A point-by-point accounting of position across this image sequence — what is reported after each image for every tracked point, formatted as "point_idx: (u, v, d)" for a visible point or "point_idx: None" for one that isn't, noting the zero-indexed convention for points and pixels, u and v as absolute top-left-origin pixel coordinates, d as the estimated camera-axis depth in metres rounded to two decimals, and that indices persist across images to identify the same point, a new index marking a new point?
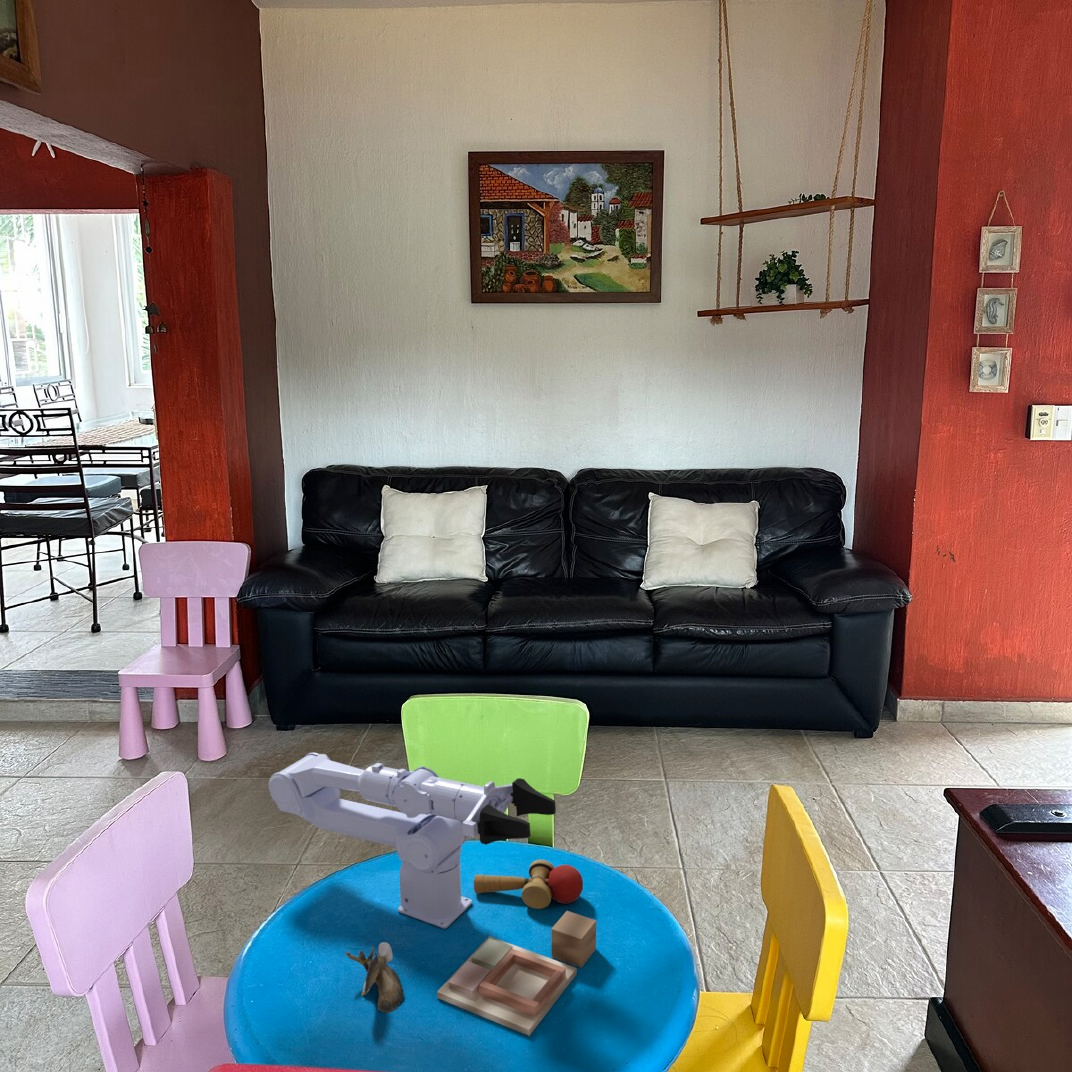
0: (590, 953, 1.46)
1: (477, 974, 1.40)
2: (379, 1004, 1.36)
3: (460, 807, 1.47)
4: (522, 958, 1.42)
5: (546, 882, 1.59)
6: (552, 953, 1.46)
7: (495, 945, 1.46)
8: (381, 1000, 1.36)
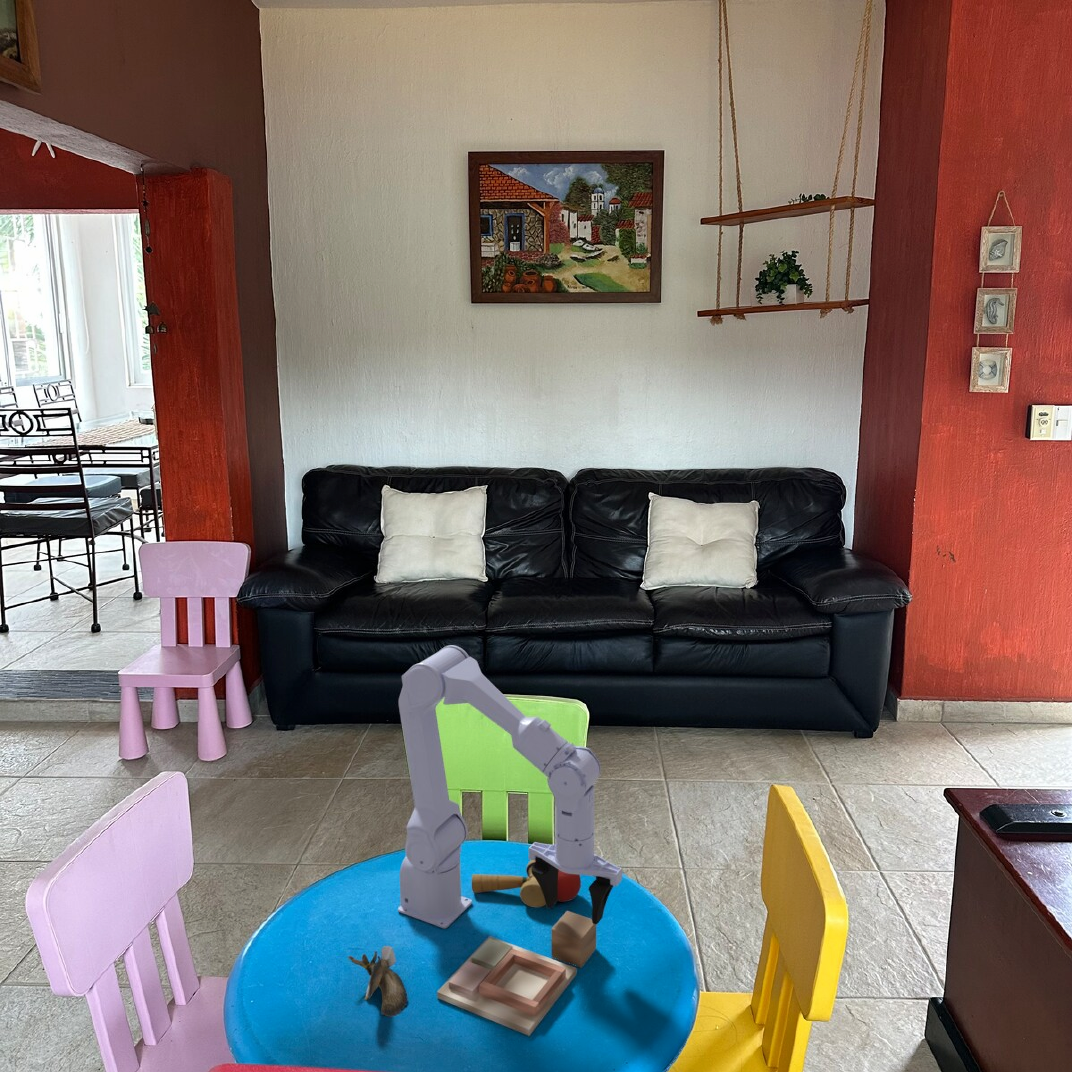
0: (590, 953, 1.46)
1: (477, 974, 1.40)
2: (383, 1008, 1.35)
3: (593, 840, 1.42)
4: (522, 958, 1.42)
5: None
6: (552, 953, 1.46)
7: (495, 945, 1.46)
8: (385, 1004, 1.36)
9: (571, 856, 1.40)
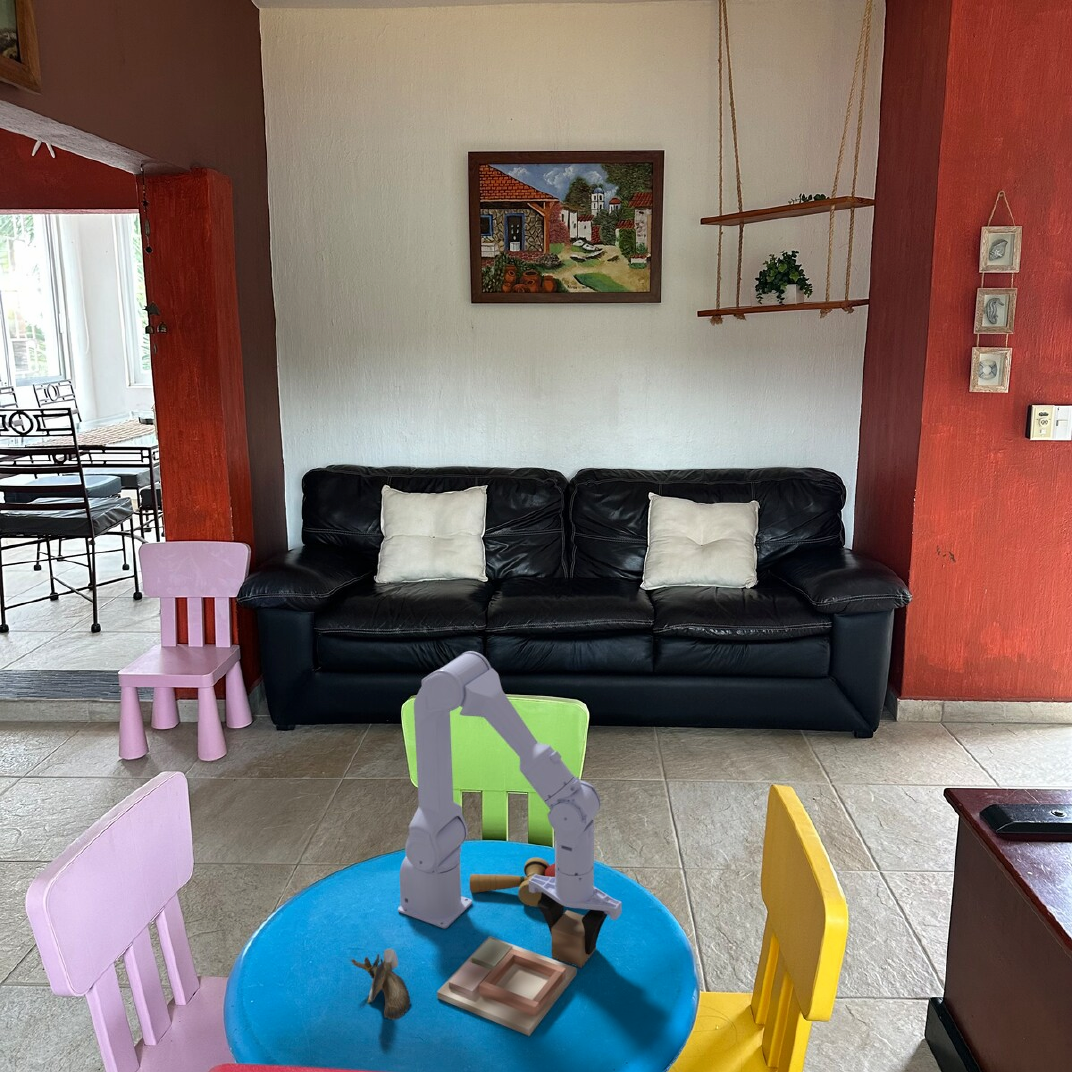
0: None
1: (477, 974, 1.40)
2: (386, 1011, 1.35)
3: (593, 874, 1.43)
4: (522, 958, 1.42)
5: None
6: (552, 952, 1.46)
7: (495, 945, 1.46)
8: (388, 1007, 1.35)
9: (571, 890, 1.41)
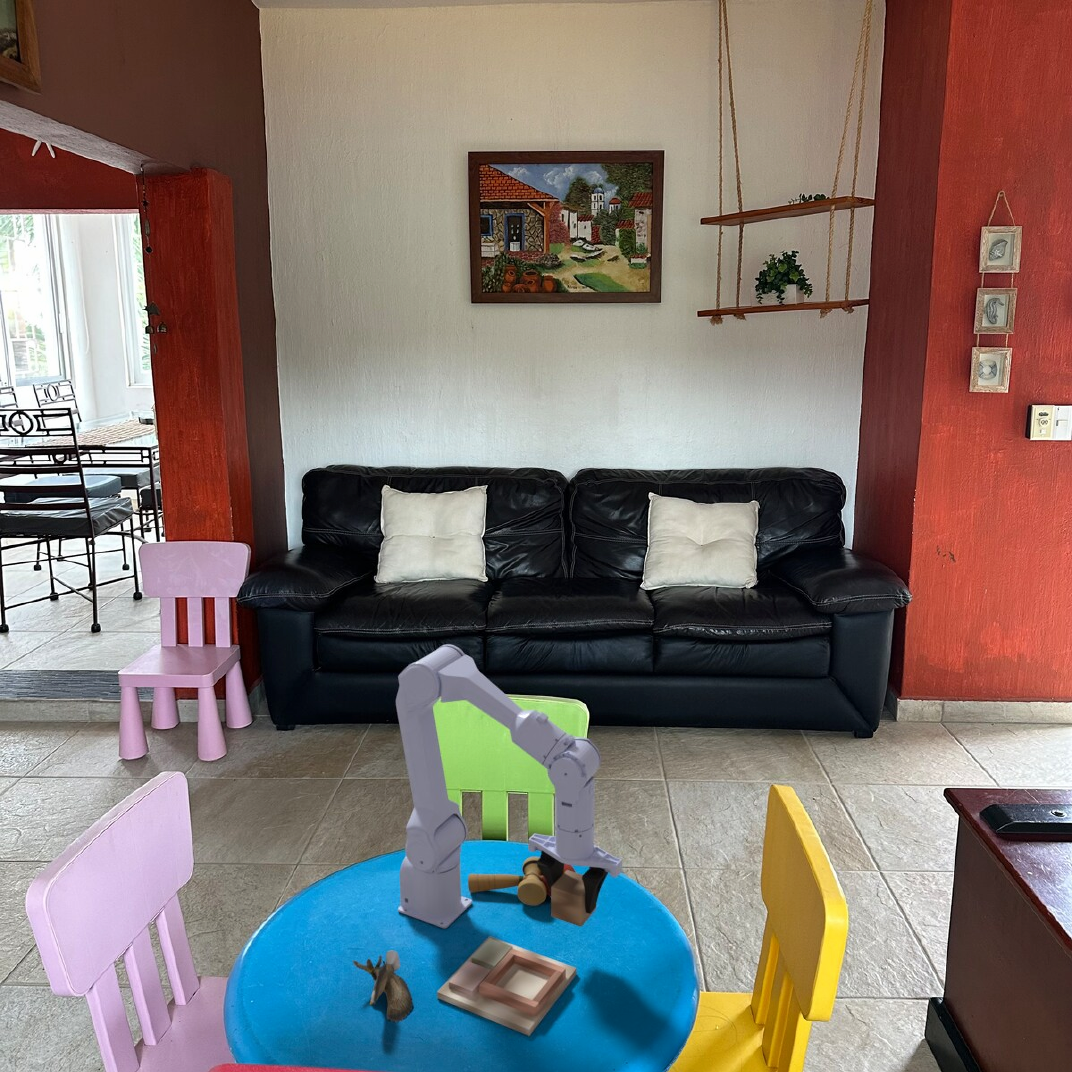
0: None
1: (477, 974, 1.40)
2: (388, 1013, 1.34)
3: (593, 831, 1.41)
4: (522, 958, 1.42)
5: (541, 879, 1.60)
6: (552, 912, 1.44)
7: (495, 945, 1.46)
8: (390, 1009, 1.35)
9: (571, 847, 1.40)
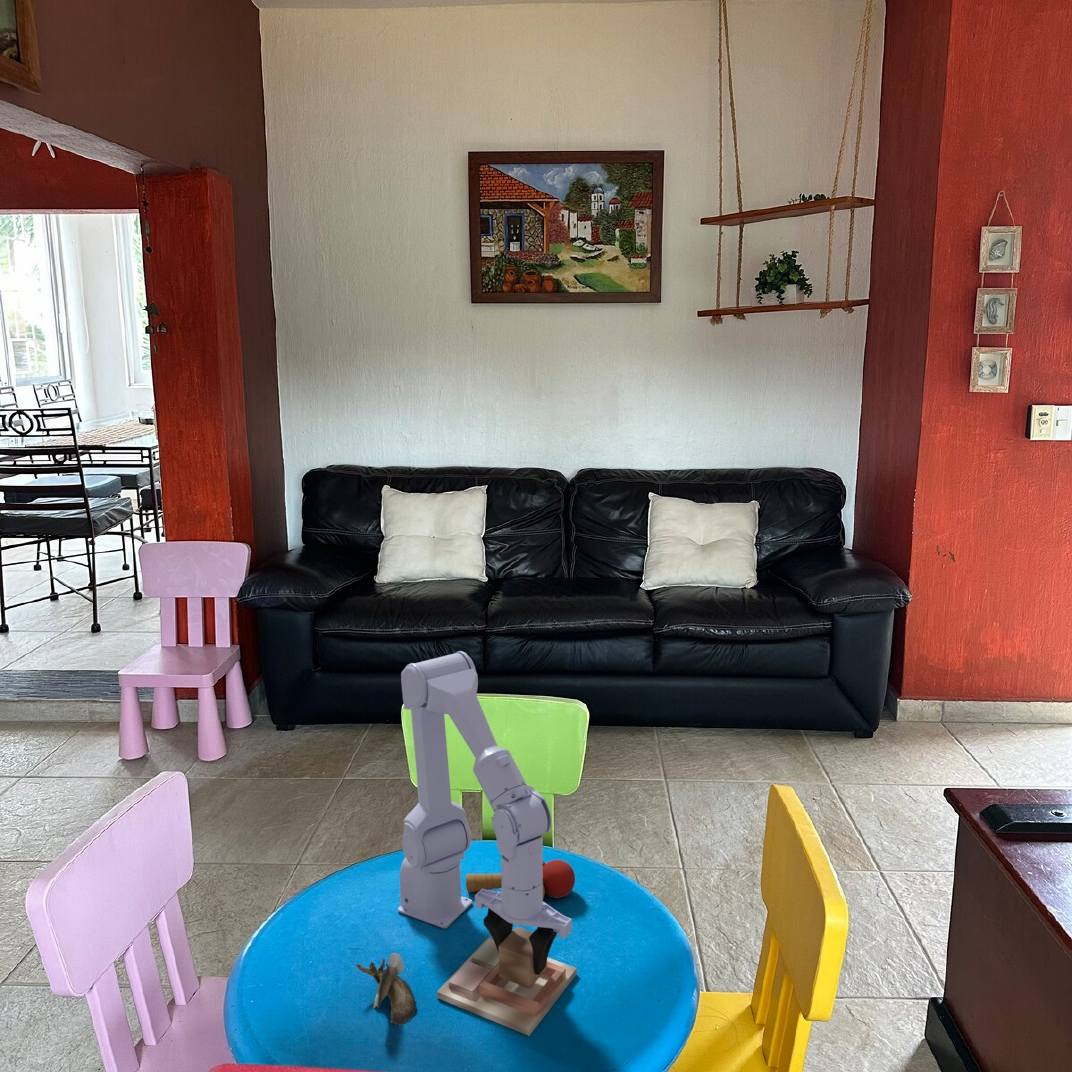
0: None
1: (477, 974, 1.40)
2: (392, 1016, 1.34)
3: (541, 889, 1.34)
4: None
5: None
6: (500, 972, 1.37)
7: (495, 945, 1.46)
8: (394, 1012, 1.34)
9: (517, 906, 1.33)
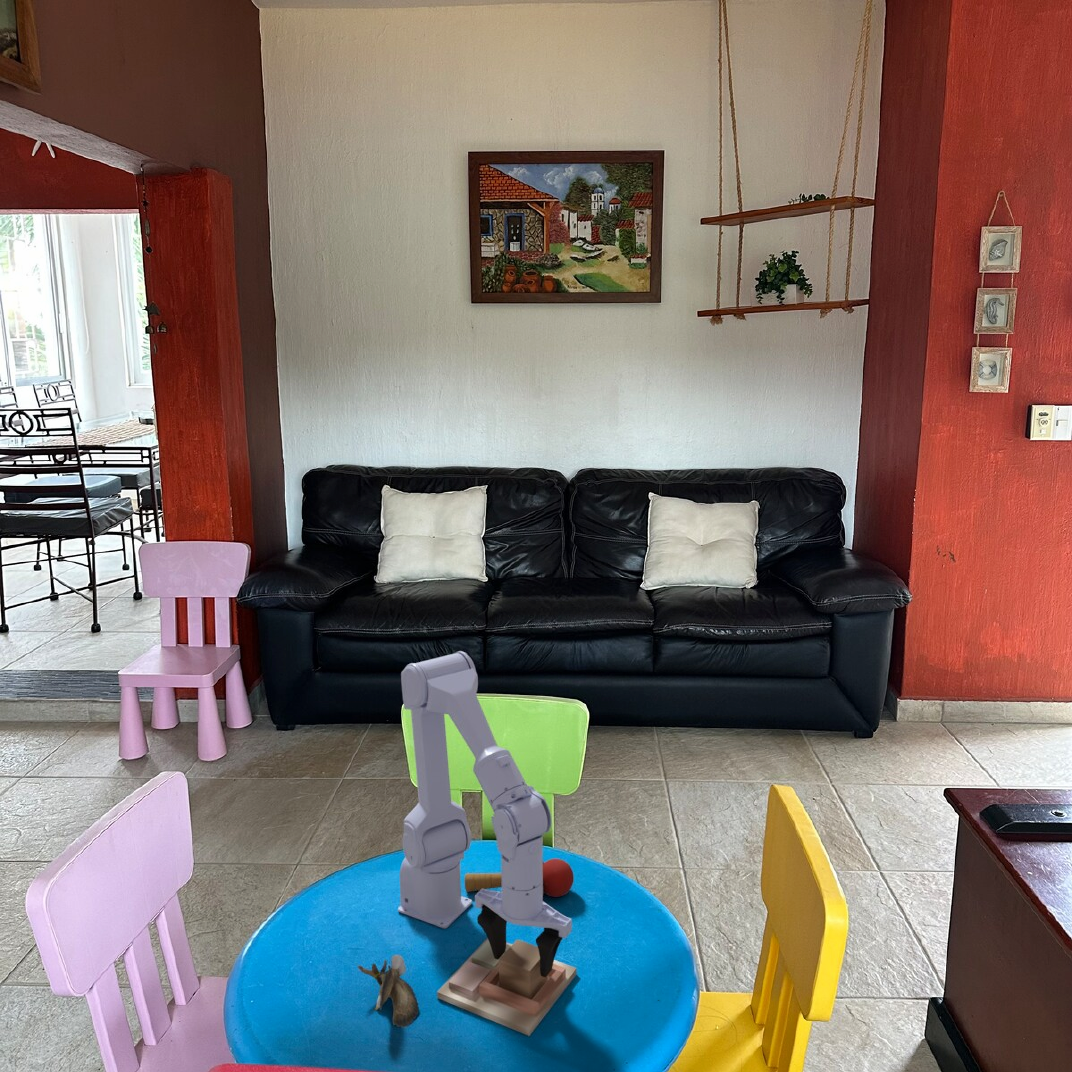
0: (540, 985, 1.38)
1: (477, 974, 1.40)
2: (394, 1018, 1.33)
3: (541, 889, 1.34)
4: None
5: None
6: (500, 985, 1.38)
7: None
8: (396, 1014, 1.34)
9: (517, 906, 1.33)
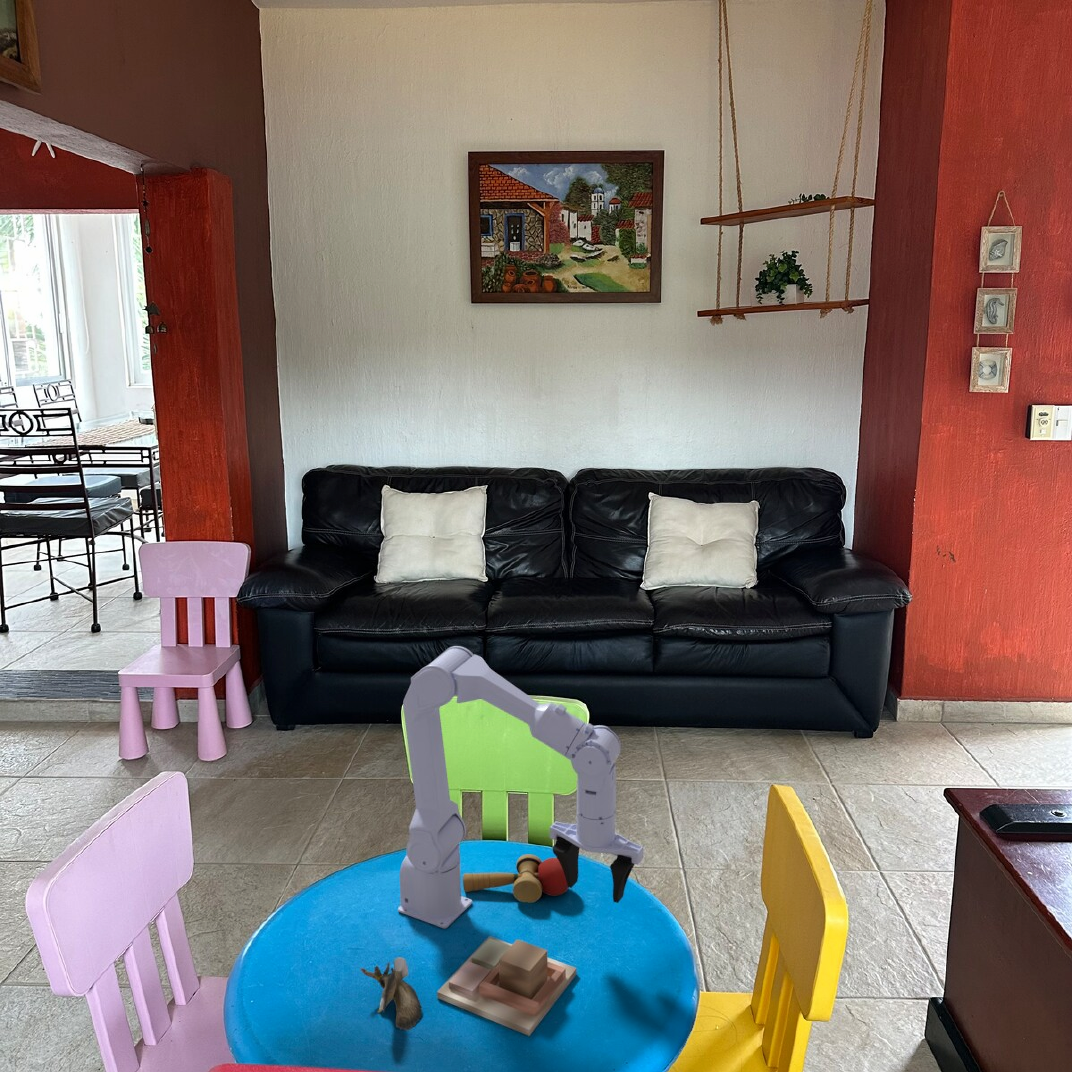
0: (540, 985, 1.38)
1: (477, 974, 1.40)
2: (397, 1021, 1.33)
3: (614, 819, 1.43)
4: None
5: (535, 876, 1.61)
6: (500, 985, 1.38)
7: (495, 945, 1.46)
8: (399, 1017, 1.33)
9: (592, 834, 1.41)
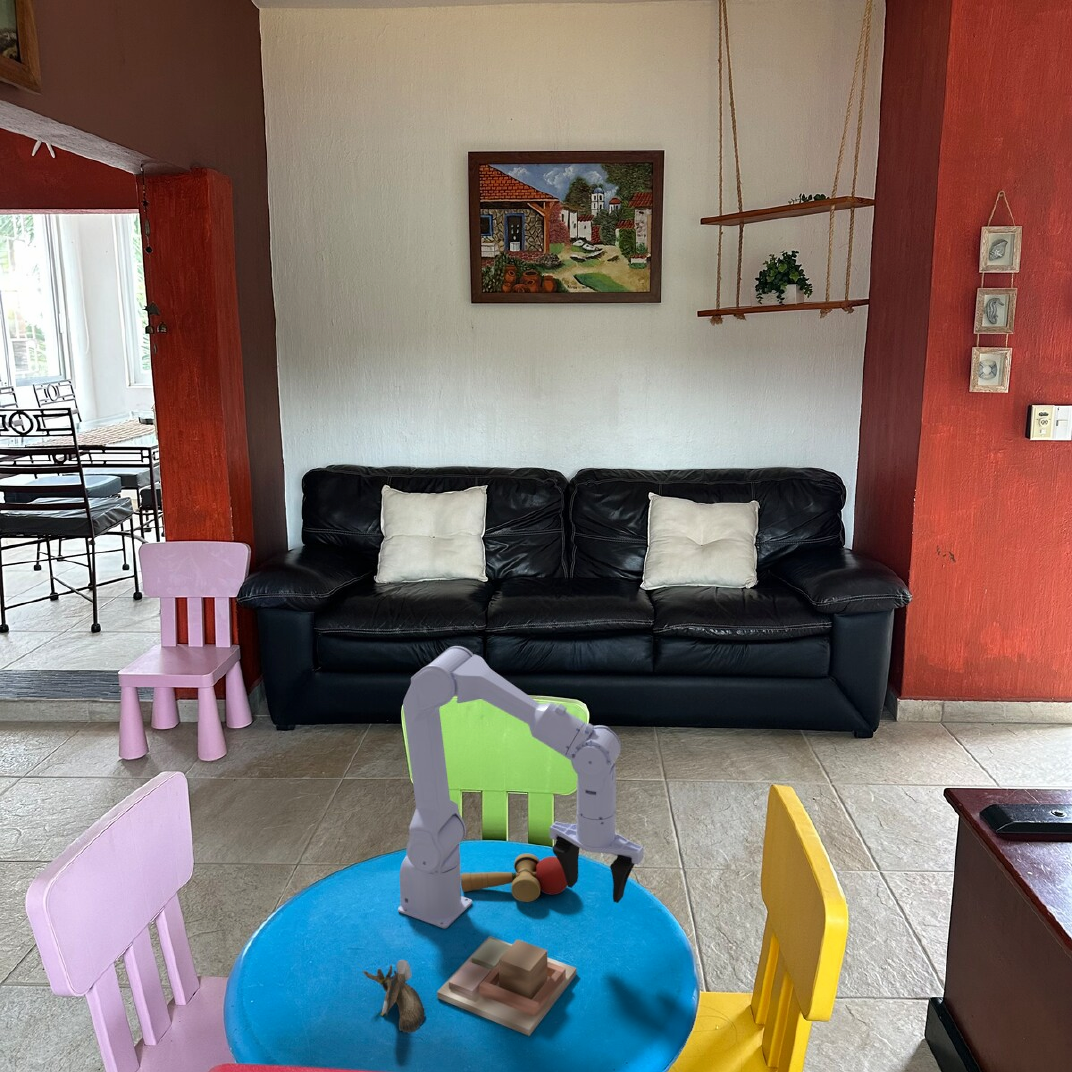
0: (540, 985, 1.38)
1: (477, 974, 1.40)
2: (400, 1024, 1.32)
3: (614, 819, 1.43)
4: None
5: (534, 875, 1.61)
6: (500, 985, 1.38)
7: (495, 945, 1.46)
8: (402, 1020, 1.33)
9: (592, 834, 1.41)
